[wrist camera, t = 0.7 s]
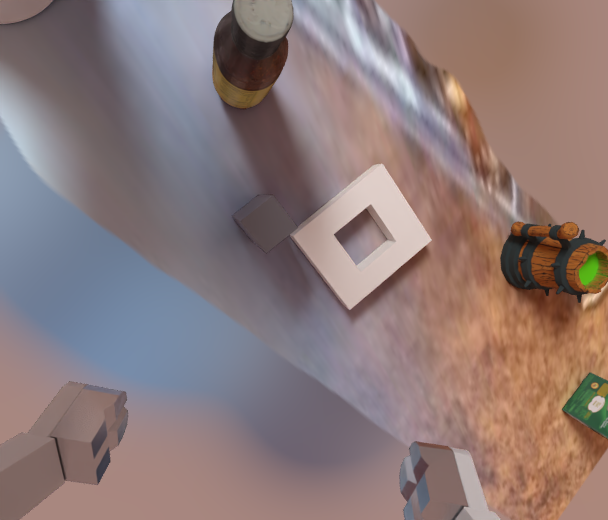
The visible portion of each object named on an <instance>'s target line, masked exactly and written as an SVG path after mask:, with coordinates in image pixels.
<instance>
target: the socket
mask: <svg viewBox="0 0 608 520" xmlns="http://www.w3.org/2000/svg"><path fill="white" fill-rule="evenodd" d="M365 208H366V209H367V210H368V212H369V213H370V215H371V216H372V218H373V219H374V220H375V222H376V223H377V225H378V226H379V228H380V229H381V231H382V232H383V234H384V235H385V237H386V238H387V239H388V240H387V241H385V242H384V243H383V244H382V245H381V246H379V247H378V248H377V249H376V250H375V251H373V252H372V253H371V254H370V255H369V256H368V257H366V258H365V259H364V260H363V261H362V262H360V263H359V264H358V265H357V266H356V265H355V263H354V262H353V261H352V259H351V258H350V257H349V255H348V254H347V252H346V251H345V250H344V248H343V247H342V246H341V244H340V243H339V242H338V240H337V239H336V237H335V236H334V234H335V233H336V232H337V231H338V230H340V229H341V228H342V227H343V226H345V225H346V224H347V223H348V222H349V221H351V220H352V219H353V218H354V217H355V216H357V215H358V214H359V213H360V212H362V211H363V210H364V209H365ZM289 236H290V237H291V238H292V239H293V241H294V242H295V243H296V245H297V246H298V247H299V248H300V250H301V251H302V252H303V254H304V255H305V256H306V258H307V259H308V260H309V261H310V263H311V264H312V265H313V267H314V268H315V269H316V271H317V272H318V273H319V274H320V276H321V277H322V278H323V280H324V281H325V282H326V283H327V285H328V286H329V287H330V289H331V290H332V291H333V293H334V294H335V295H336V296H337V298H338V299H339V300H340V302H341V303H342V304H343V305H344V306H345V307H346V308H348V309H349V310H351V309H352V308H353V307H354V306H355V305H356V304H358V303H359V302H360V301H361V300H362V299H363V298H365V297H366V296H367V295H368V294H369V293H370V292H372V291H373V290H374V289H375V288H376V287H378V286H379V285H380V284H381V283H382V282H383V281H385V280H386V279H387V278H388V277H389V276H390V275H392V274H393V273H394V272H395V271H396V270H397V269H399V268H400V267H401V266H402V265H403V264H404V263H406V262H407V261H408V260H409V259H410V258H412V257H413V256H414V255H415V254H416V253H417V252H419V251H420V250H421V249H422V248H423V247H424V246H426V245H427V244H428V243H429V242H430V241H431V238H430V237H429V235H428V234H427V232H426V231H425V229H424V227H423V226H422V224H421V223H420V221H419V220H418V218H417V217H416V215H415V213H414V212H413V210H412V209H411V207H410V206H409V204H408V203H407V201H406V199H405V198H404V196H403V195H402V193H401V192H400V190H399V189H398V187H397V186H396V184H395V182H394V181H393V179H392V178H391V176H390V175H389V173H388V172H387V170H386V168H385V167H384V165H383V164H377V165H373V166H372V167H371V168H369V169H368V170H367V171H366V172H364V173H363V174H362V175H361V176H359V177H358V178H357V179H356V180H355V181H353V182H352V183H351V184H350V185H348V186H347V187H346V188H345V189H343V190H342V191H341V192H340V193H338V194H337V195H336V196H335V197H334V198H332V199H331V200H330V201H329V202H327V203H326V204H325V205H324V206H322V207H321V208H320V209H319V210H318V211H316V212H315V213H314V214H313V215H311V216H310V217H309V218H308V219H306V220H305V221H304V222H303V223H301V224H300V225H299V226H298V228H297V229H296V230H295V231H294V232H293V233H291V234H290V235H289Z"/></svg>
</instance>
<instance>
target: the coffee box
mask: <svg viewBox="0 0 608 520" xmlns="http://www.w3.org/2000/svg"><path fill="white" fill-rule="evenodd" d="M562 410H563V411H564V412H566V413H567V414H569V415H570V416H571V417H573V418H574V419H576V420H577V421H579V422H581V423H582V424H584V425H585V426H587V427H588V428H590V429H592V430H593V431H595V432H597V433H598V434H600V435H601V436H603V437H605V438H606V439H608V381H607V380H605V379H603V378H601V377H599V376H596V375H595V374H593V373H589V374H588V376H587V377H586V378H585V379H584V380H583V381H582V384H581V385H580V386H579V388H578V389H577V390H576V392H575V393H574V394H573V396H572V397H571V398H570V399H569V400H568V402H567V404H566V405H565V406H564V408H563V409H562Z"/></svg>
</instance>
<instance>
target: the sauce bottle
mask: <svg viewBox="0 0 608 520" xmlns="http://www.w3.org/2000/svg"><path fill="white" fill-rule="evenodd" d="M292 22H293V6H292V1H291V0H233V4H232V11H231V12H229V13H228V14H226V15H225V16H224V17H223V18H222V19H221V21H220V22H219V24H218V26H217V28H216V32H215V36H214V47H213V72H212V76H213V83H214V87H215V89H216V91H217V93H218V94H219V96H220V97H221V99H222V100H223V101H225V102H226V103H228V104H229V105H231V106H233V107H237V108H240V109H246V108H249V107H253V106H255V105H257V104H259V103H260V102H261V101H262V99H263V98H265V96H266V95H267V94H268V92H269V91H270V89H271V88H272V86H273V85H274V83H275V82H276V80H277V79H278V77H279V75H280V74H281V71H282V69H283V67H284V65H285V62H286V59H287V56H288V40H287V38H286V35H287V34H288V32H289V30H290V28H291V25H292Z"/></svg>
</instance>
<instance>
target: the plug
mask: <svg viewBox="0 0 608 520" xmlns="http://www.w3.org/2000/svg"><path fill="white" fill-rule="evenodd" d="M232 217H233V218H234V219H235V220H236V222H237V223H238V224H239V225H240V227H241V228H242V229H243V230H244V232H245V233H246V234H247V235H248V236H249V238H250V239H251V240H252V241H253V242H254V243H255V244H256V245H257V246H258V247H259V248H260V249H262V250H263V251H264V252H265V253H266V254H267V253H268V252H269V251H270V250H272V249H273V248H274V247H275V246H276V245H278V244H279V243H280V242H281V241H283V240H284V239H285V238H286V237H288V236H289V235H290V234H291V233H293V232H294V231H295V230H296V229H297V228H298V227H297V226H296V224H295V223H294V222H293V220H292V219H291V218H290V216H289V215H288V214H287V213H286V211H285V210H284V209H283V207H282V206H281V205H280V203H279V202H278V201H277V199H276V198H275V197H274V195H258V196H256V197H255V198H254V199H252V200H251V201H250V202H249V203H247V204H246V205H245V206H244V207H242V208H241V209H240V210H239V211H237V212H236V213H235V214H233V215H232Z"/></svg>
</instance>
